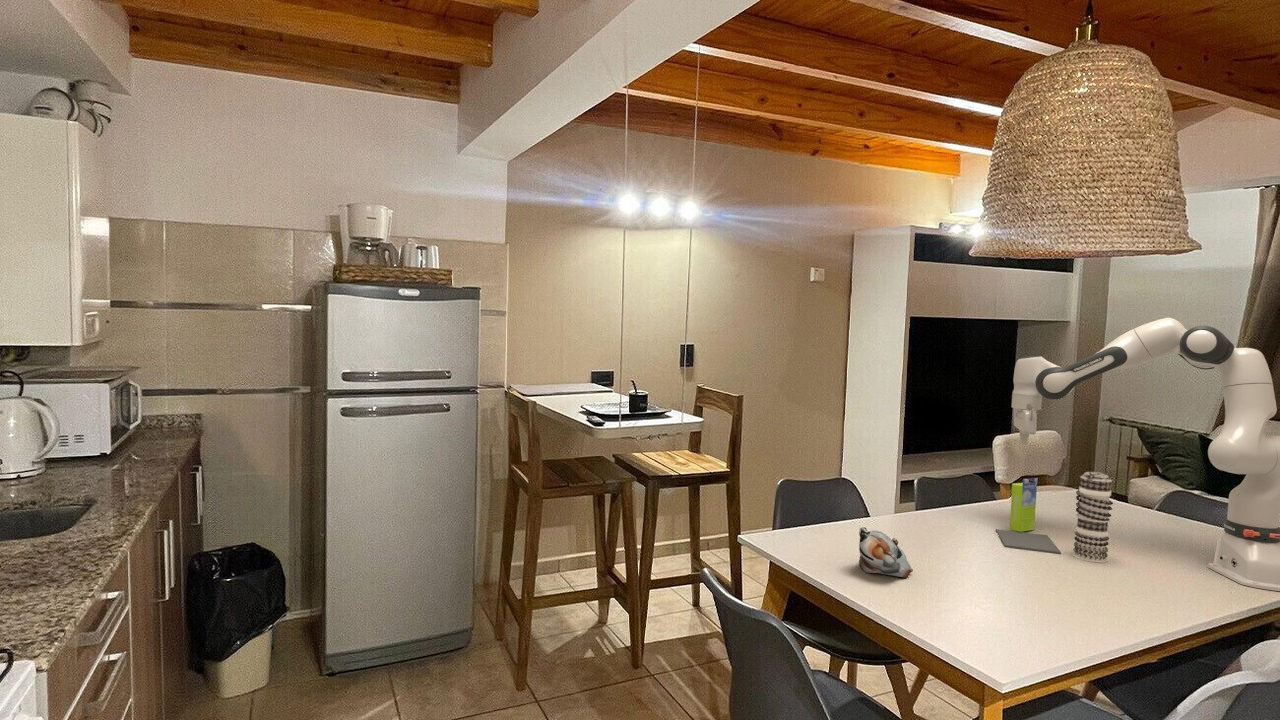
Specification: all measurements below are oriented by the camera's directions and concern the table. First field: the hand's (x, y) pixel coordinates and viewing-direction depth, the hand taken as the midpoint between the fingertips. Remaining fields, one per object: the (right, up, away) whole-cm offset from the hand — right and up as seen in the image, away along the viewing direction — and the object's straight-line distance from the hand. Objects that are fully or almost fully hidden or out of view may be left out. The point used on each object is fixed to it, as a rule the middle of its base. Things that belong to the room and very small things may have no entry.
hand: (1023, 444), depth 242 cm
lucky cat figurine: (-65, -28, -53) cm, 89 cm away
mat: (-9, -28, -19) cm, 35 cm away
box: (-4, -28, -6) cm, 29 cm away
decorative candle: (+2, -30, -32) cm, 44 cm away
